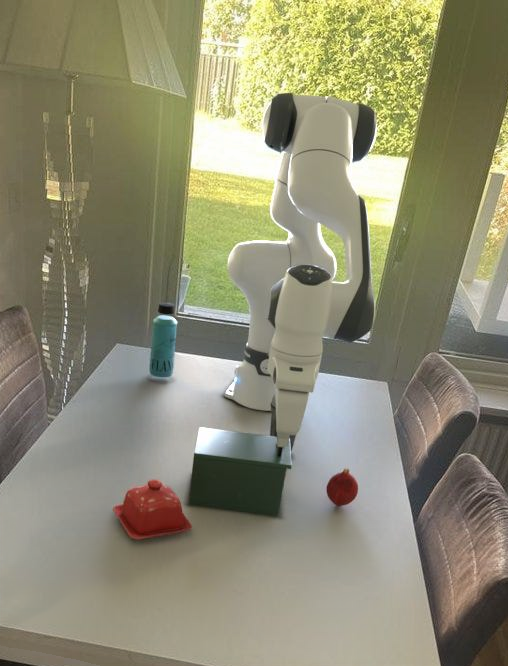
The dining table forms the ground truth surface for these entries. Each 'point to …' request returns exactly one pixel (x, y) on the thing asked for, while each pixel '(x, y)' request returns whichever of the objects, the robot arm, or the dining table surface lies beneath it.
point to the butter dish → (151, 511)
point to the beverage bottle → (163, 342)
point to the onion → (342, 488)
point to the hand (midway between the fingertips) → (281, 437)
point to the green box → (236, 486)
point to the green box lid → (242, 448)
